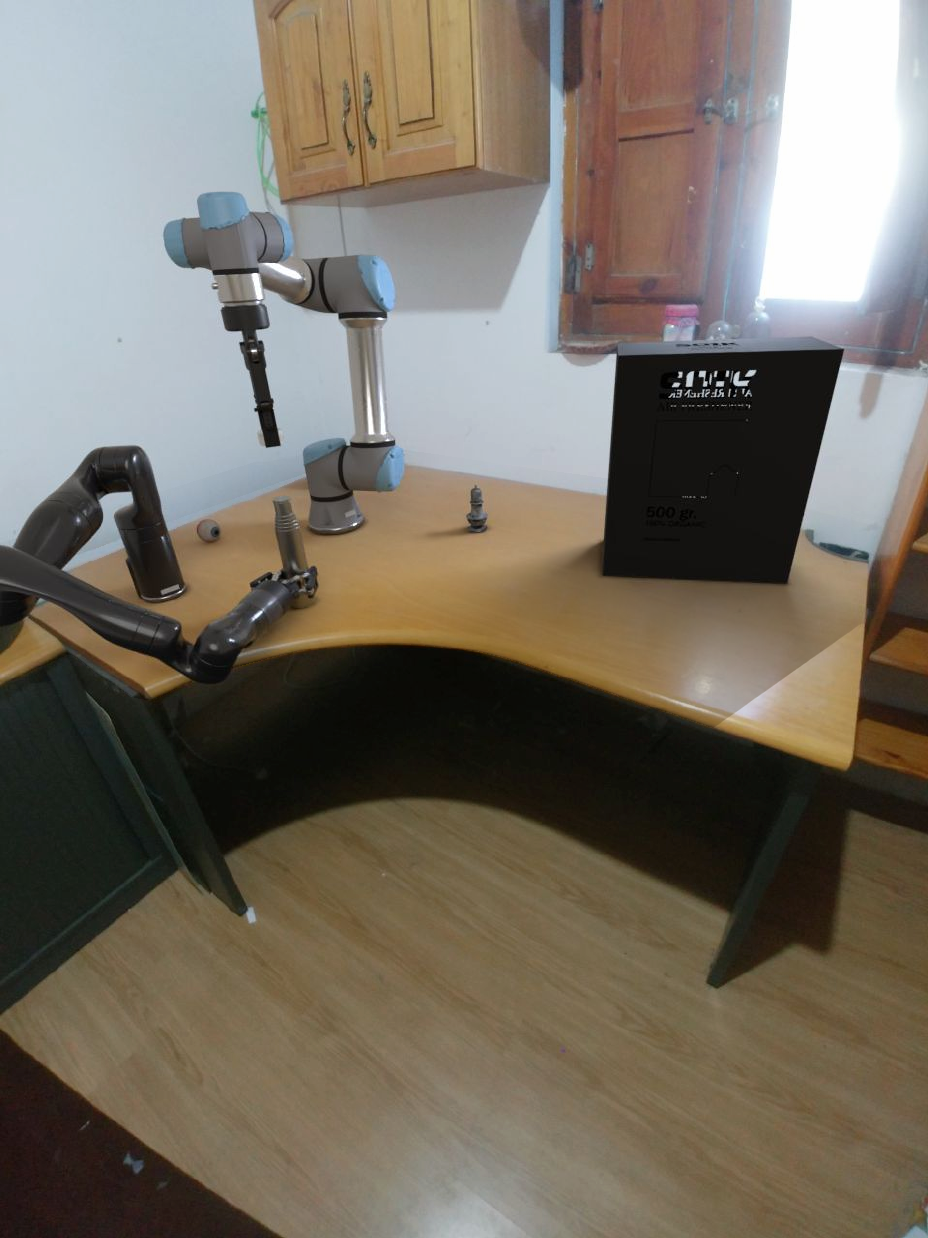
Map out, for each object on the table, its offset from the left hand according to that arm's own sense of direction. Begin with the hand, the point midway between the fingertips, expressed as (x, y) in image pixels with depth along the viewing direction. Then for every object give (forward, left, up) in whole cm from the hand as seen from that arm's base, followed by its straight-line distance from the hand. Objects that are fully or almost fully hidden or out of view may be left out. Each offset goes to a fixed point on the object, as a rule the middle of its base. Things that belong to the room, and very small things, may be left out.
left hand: (302, 569), depth 129 cm
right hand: (0, -2, +27) cm, 27 cm away
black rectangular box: (+81, +28, -7) cm, 86 cm away
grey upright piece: (+29, +43, -7) cm, 52 cm away
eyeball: (-41, +27, -7) cm, 50 cm away
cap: (0, -2, +29) cm, 29 cm away
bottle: (0, -3, -7) cm, 7 cm away
